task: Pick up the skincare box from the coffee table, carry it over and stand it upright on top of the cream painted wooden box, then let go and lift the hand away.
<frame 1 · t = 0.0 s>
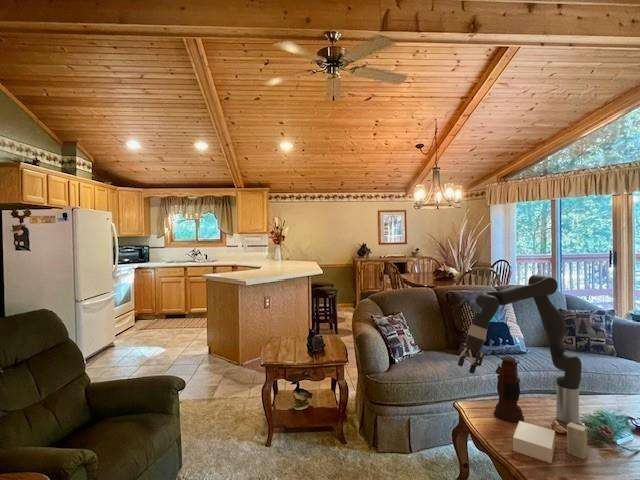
hand: (465, 369, 165), 31 cm above the table, tool tilted 20°, fingers open, 8 cm apart
cream box: (534, 447, 157), on the table
dark brown tall piece: (508, 416, 183), on the table
skincare box: (576, 454, 152), on the table
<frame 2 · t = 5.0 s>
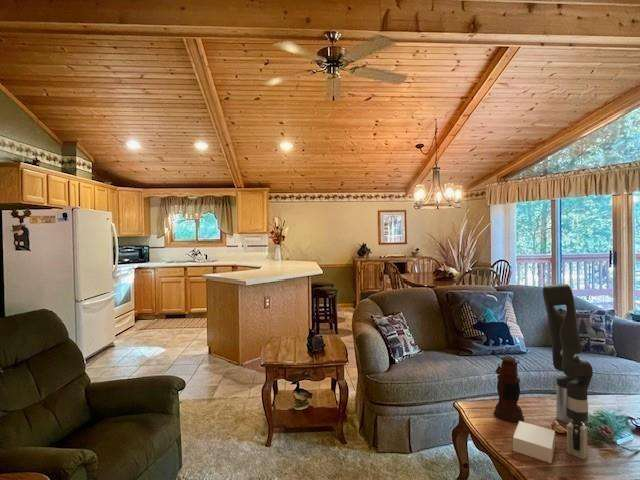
hand: (576, 446, 151), 3 cm above the table, tool pointing down, fingers closed on skincare box, 5 cm apart
skincare box: (576, 454, 152), on the table, touching gripper
everything else where it was.
when the fingers open (11 cm above the table, at t = 10.9 s): skincare box drops 1 cm, resting on cream box.
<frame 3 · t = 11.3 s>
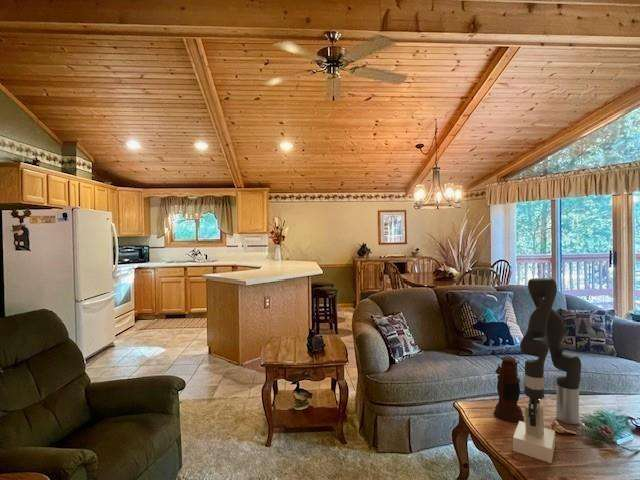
hand: (534, 421, 156), 12 cm above the table, tool pointing down, fingers open, 8 cm apart
skincare box: (534, 434, 156), point 6 cm above the table, touching cream box
everything else where it was.
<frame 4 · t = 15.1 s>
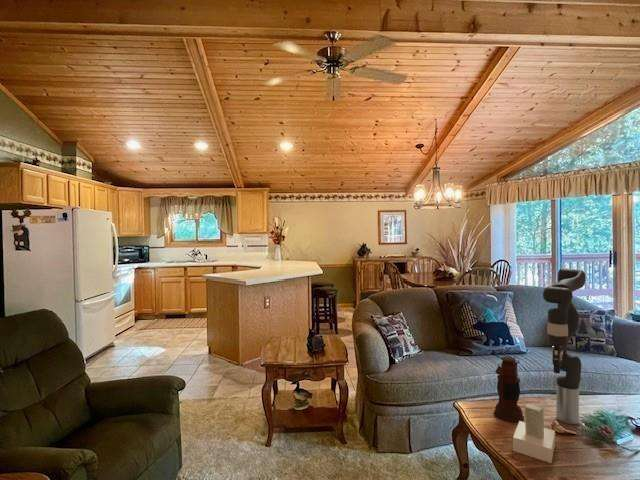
hand: (557, 369, 156), 34 cm above the table, tool pointing down, fingers open, 8 cm apart
nothing on the table moved.
at the end: skincare box inside the target area on the cream box (0.1 cm from its centre), point 5.8 cm above the cream box's base; skincare box tilted 0°; the gripper is holding nothing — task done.
